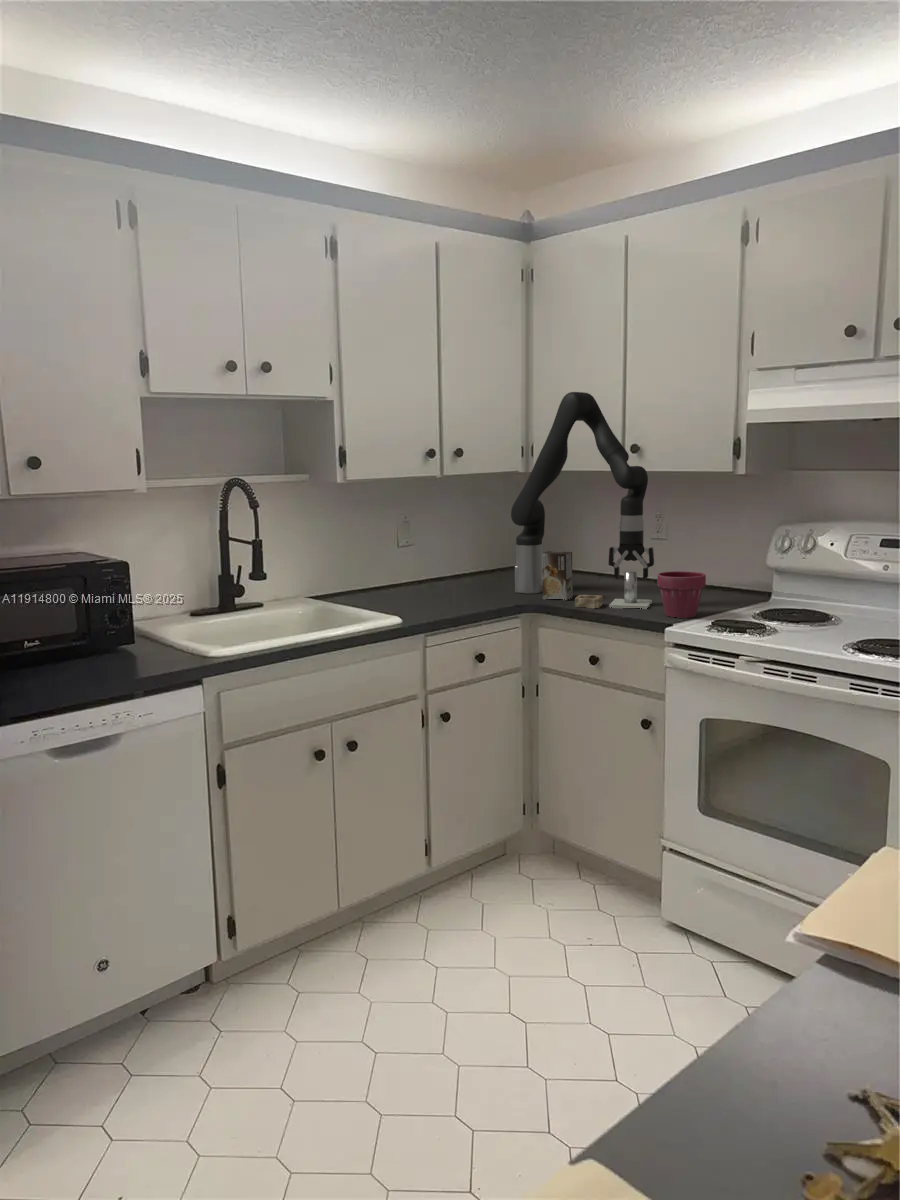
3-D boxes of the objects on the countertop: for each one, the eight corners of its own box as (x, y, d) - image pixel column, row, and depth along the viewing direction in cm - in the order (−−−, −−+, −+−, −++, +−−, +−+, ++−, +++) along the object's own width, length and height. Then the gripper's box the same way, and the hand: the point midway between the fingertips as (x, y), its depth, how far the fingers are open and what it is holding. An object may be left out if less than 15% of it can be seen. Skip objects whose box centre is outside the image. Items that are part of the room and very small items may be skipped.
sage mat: (609, 608, 285) (609, 604, 284) (615, 601, 296) (615, 598, 296) (647, 609, 281) (647, 606, 280) (651, 602, 292) (651, 599, 292)
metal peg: (623, 603, 287) (623, 572, 285) (625, 601, 291) (625, 570, 289) (635, 603, 285) (635, 572, 284) (637, 601, 289) (637, 571, 288)
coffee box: (573, 598, 305) (573, 551, 302) (567, 601, 299) (566, 553, 297) (548, 596, 309) (548, 550, 306) (541, 599, 304) (541, 552, 301)
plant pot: (675, 609, 279) (675, 569, 277) (714, 615, 269) (715, 573, 267) (647, 615, 270) (647, 574, 268) (686, 621, 260) (687, 578, 258)
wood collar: (574, 607, 287) (574, 598, 286) (579, 603, 294) (579, 594, 293) (598, 608, 284) (598, 599, 283) (602, 604, 291) (602, 595, 291)
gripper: (655, 528, 285) (654, 578, 288) (611, 527, 290) (610, 577, 293) (652, 530, 278) (652, 581, 281) (607, 530, 283) (607, 580, 286)
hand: (631, 579), depth 287 cm, fingers open, 8 cm apart
